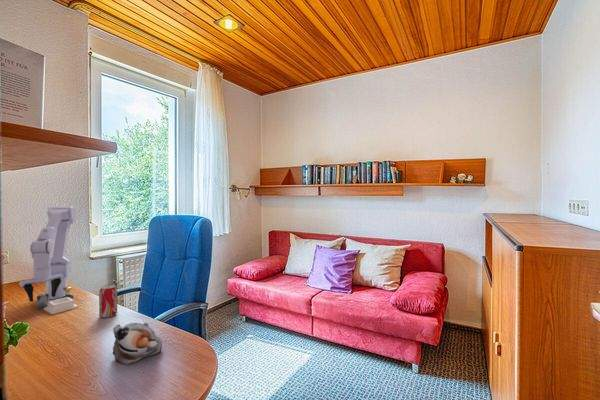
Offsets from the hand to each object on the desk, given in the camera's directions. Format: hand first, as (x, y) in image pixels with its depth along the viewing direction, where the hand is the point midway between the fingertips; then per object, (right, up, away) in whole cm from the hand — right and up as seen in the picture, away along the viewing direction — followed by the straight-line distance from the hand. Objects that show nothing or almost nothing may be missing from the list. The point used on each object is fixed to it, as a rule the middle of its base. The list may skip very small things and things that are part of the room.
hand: (42, 298), depth 132 cm
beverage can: (+34, -4, -8) cm, 35 cm away
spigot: (0, -4, 0) cm, 4 cm away
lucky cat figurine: (+63, -5, -39) cm, 74 cm away
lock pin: (+6, -1, +6) cm, 9 cm away
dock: (+8, -4, +1) cm, 9 cm away
